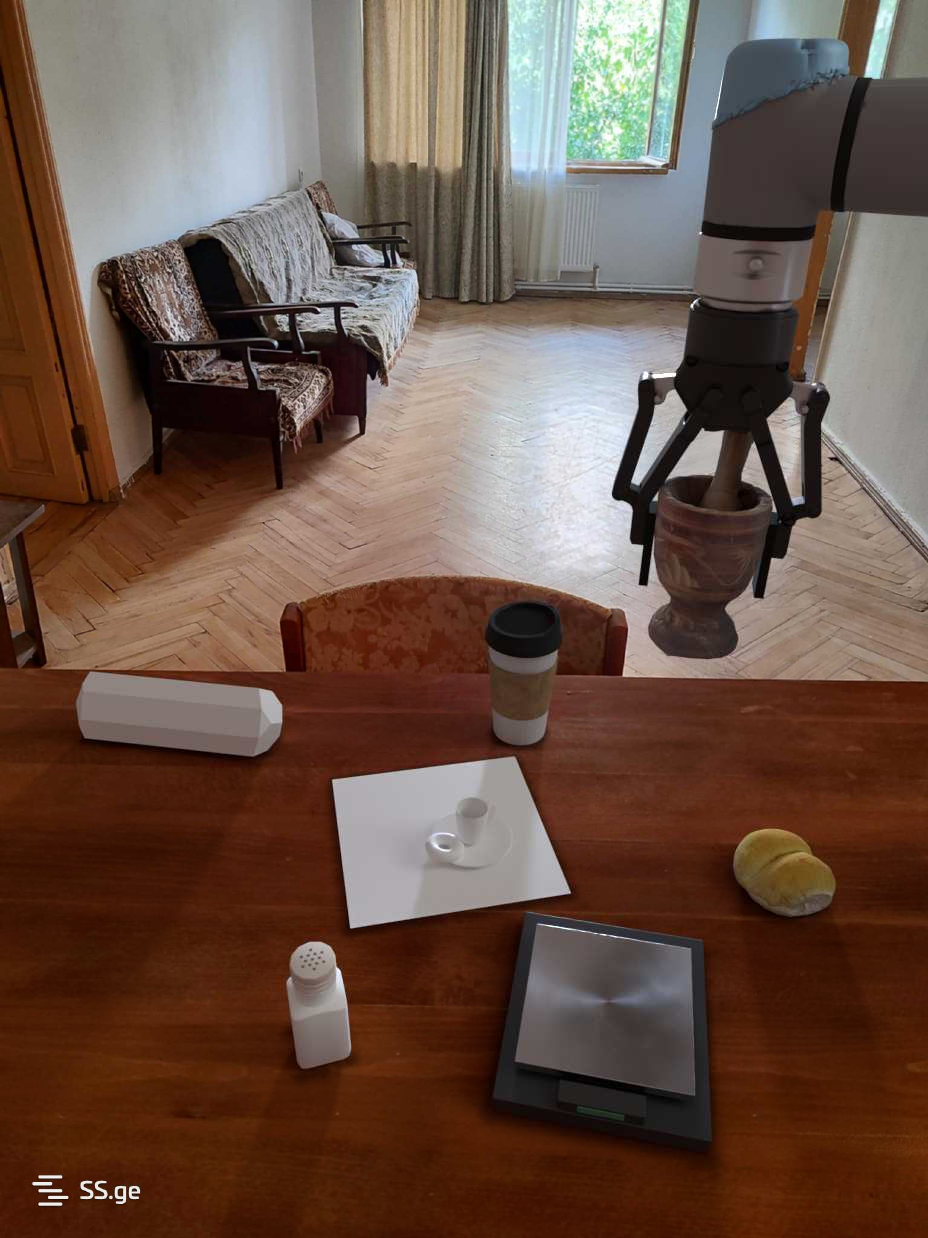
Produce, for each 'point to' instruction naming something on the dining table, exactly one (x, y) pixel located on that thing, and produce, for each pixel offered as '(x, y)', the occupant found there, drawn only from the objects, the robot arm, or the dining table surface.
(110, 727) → the crystal
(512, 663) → the coffee cup
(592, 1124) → the scale
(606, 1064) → the scale pan
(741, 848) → the bread roll
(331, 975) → the salt shaker
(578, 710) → the dining table surface
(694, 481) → the mortar and pestle
